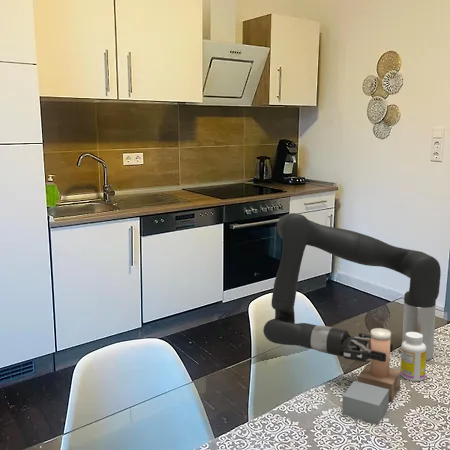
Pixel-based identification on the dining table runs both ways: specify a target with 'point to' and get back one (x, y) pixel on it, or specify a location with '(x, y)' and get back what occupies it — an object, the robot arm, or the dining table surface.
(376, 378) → the stand
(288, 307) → the robot arm
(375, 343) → the canister
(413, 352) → the supplement bottle
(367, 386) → the stand
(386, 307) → the dining table surface
